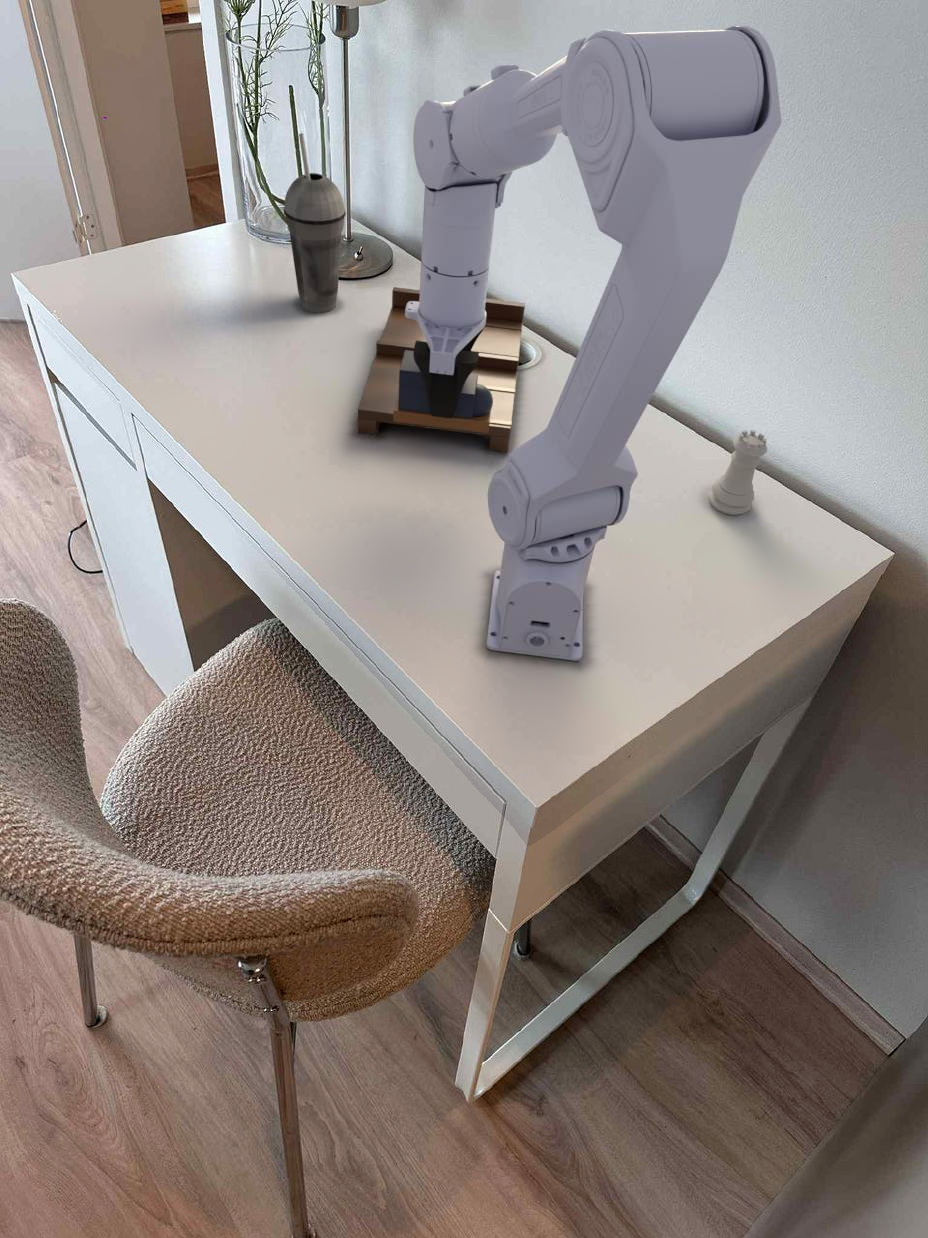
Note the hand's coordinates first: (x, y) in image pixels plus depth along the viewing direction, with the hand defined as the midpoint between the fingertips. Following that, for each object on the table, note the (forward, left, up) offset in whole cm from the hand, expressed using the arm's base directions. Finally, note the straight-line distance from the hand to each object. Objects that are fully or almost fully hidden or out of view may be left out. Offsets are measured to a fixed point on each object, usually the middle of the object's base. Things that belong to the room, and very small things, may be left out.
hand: (444, 402), depth 84 cm
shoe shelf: (+17, +1, -9) cm, 19 cm away
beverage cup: (+32, +19, -9) cm, 39 cm away
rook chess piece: (+1, -30, -9) cm, 31 cm away
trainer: (0, 0, -1) cm, 1 cm away
